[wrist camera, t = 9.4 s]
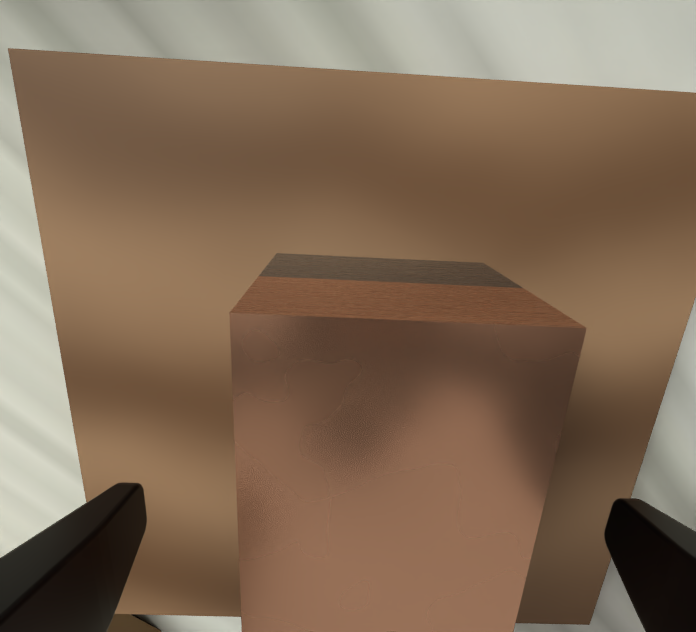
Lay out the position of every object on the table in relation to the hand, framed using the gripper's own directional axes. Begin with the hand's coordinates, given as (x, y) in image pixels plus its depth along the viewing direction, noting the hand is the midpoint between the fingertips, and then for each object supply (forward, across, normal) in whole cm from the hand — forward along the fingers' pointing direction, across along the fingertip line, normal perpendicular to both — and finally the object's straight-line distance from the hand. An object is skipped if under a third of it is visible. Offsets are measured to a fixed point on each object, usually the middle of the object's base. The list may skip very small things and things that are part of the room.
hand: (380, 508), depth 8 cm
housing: (+4, 0, 0) cm, 4 cm away
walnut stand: (+6, 0, 0) cm, 6 cm away
